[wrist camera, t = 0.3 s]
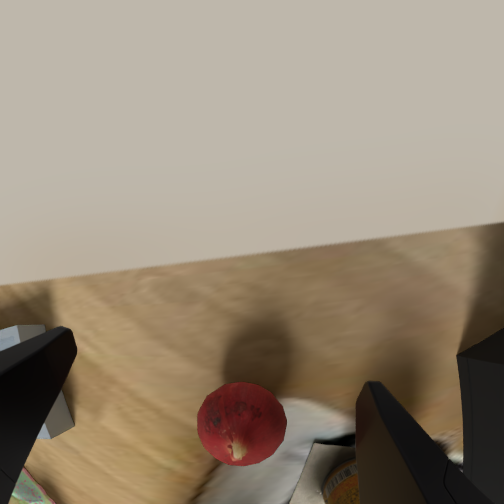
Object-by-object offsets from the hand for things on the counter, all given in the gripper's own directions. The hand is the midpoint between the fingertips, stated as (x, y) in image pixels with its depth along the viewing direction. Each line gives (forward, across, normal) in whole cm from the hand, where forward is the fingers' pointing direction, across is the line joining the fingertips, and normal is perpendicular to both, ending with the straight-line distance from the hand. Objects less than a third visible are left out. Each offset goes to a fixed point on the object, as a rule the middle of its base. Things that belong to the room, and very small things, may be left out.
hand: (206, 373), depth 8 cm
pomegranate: (+9, -1, +13) cm, 16 cm away
